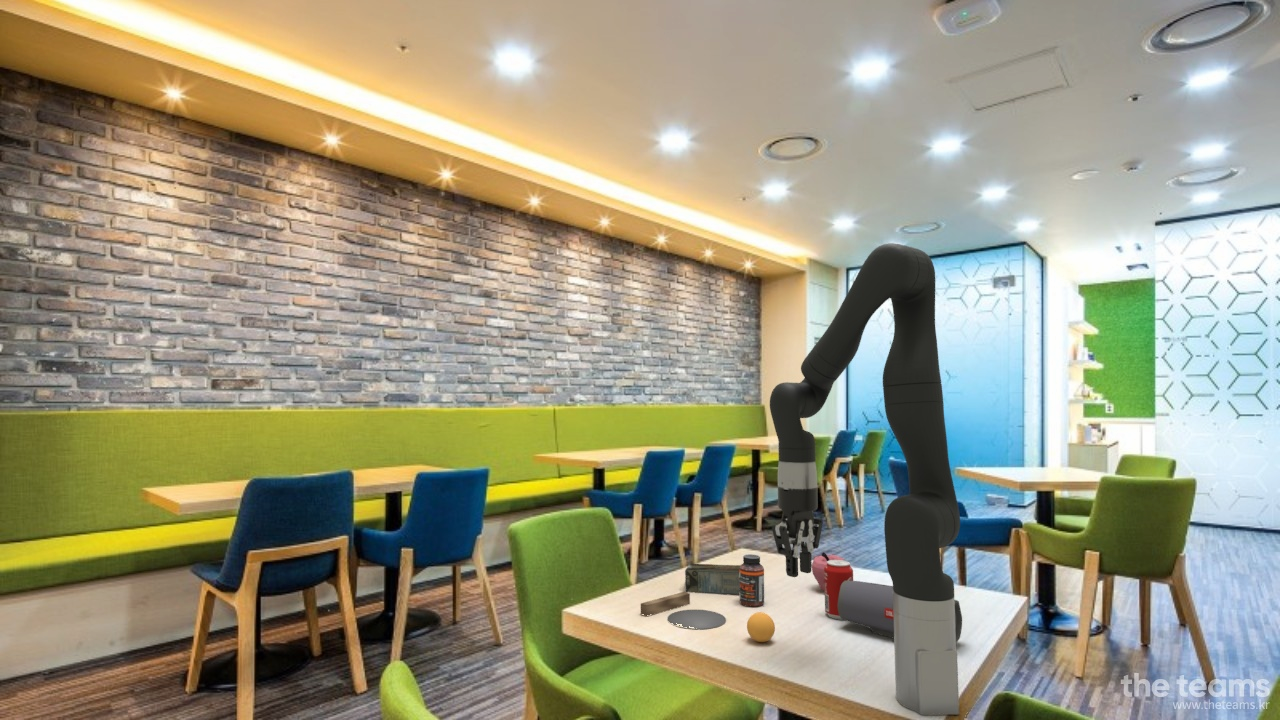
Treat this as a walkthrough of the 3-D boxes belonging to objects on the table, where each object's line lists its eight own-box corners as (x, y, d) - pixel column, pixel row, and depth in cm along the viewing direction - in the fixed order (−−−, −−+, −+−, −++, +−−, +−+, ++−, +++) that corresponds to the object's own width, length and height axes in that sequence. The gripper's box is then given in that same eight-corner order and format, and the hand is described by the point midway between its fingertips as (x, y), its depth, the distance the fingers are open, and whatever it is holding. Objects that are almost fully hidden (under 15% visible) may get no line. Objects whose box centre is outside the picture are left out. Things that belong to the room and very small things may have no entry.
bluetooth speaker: (836, 630, 140) (835, 582, 141) (854, 619, 147) (853, 573, 148) (950, 657, 125) (948, 603, 126) (963, 643, 132) (962, 592, 133)
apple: (847, 597, 163) (846, 556, 164) (811, 594, 166) (810, 554, 167) (847, 587, 172) (846, 548, 173) (813, 584, 175) (812, 546, 176)
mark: (730, 629, 141) (730, 628, 141) (669, 629, 140) (669, 628, 140) (721, 610, 154) (721, 609, 154) (665, 610, 153) (665, 609, 153)
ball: (777, 646, 131) (777, 617, 131) (749, 646, 131) (749, 617, 131) (771, 636, 136) (771, 608, 137) (744, 636, 136) (744, 608, 137)
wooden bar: (683, 602, 160) (683, 591, 160) (689, 604, 158) (689, 593, 159) (640, 614, 151) (640, 603, 151) (646, 616, 149) (646, 605, 149)
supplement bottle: (735, 605, 157) (735, 557, 158) (744, 598, 163) (743, 552, 163) (760, 608, 155) (759, 559, 155) (767, 602, 160) (766, 554, 161)
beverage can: (855, 621, 145) (854, 566, 146) (826, 619, 147) (825, 565, 147) (852, 612, 152) (851, 559, 152) (824, 611, 153) (823, 558, 154)
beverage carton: (689, 584, 176) (689, 559, 177) (762, 589, 172) (761, 563, 172) (684, 593, 168) (684, 567, 169) (760, 598, 164) (760, 571, 165)
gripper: (802, 480, 136) (804, 564, 135) (759, 486, 127) (760, 577, 126) (834, 483, 130) (836, 571, 129) (791, 489, 121) (793, 585, 120)
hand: (799, 573), depth 127 cm, fingers open, 3 cm apart
